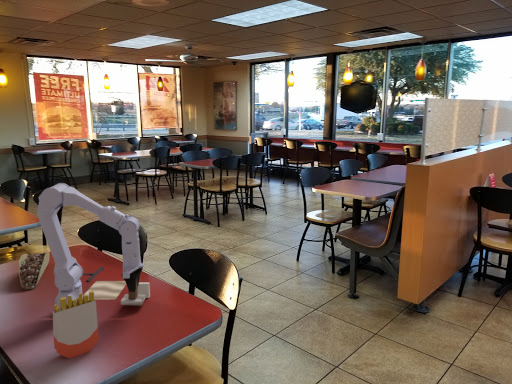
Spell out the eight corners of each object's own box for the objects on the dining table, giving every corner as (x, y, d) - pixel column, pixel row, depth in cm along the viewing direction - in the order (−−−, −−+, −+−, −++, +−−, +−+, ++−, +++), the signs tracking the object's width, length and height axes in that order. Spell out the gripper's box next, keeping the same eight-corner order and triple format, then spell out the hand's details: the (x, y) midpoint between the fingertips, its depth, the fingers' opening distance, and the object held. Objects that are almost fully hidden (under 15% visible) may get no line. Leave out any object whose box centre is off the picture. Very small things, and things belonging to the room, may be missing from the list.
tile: (149, 299, 145) (148, 284, 144) (130, 299, 145) (129, 284, 144) (150, 297, 147) (149, 282, 146) (131, 297, 147) (130, 282, 146)
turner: (141, 305, 136) (141, 283, 135) (120, 304, 136) (120, 283, 134) (145, 298, 141) (144, 277, 140) (125, 298, 141) (125, 277, 139)
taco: (54, 264, 179) (52, 242, 177) (42, 289, 154) (40, 264, 152) (30, 266, 176) (28, 245, 174) (14, 292, 151) (11, 267, 149)
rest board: (115, 300, 144) (115, 299, 144) (79, 300, 144) (79, 299, 144) (128, 282, 160) (128, 281, 160) (96, 282, 160) (96, 281, 159)
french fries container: (55, 355, 112) (48, 296, 108) (93, 340, 119) (89, 284, 115) (59, 362, 108) (53, 302, 105) (99, 347, 116) (94, 290, 112)
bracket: (70, 270, 173) (69, 264, 173) (104, 270, 173) (103, 264, 173) (53, 284, 159) (52, 277, 159) (90, 284, 159) (89, 278, 159)
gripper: (137, 260, 128) (139, 299, 131) (148, 245, 142) (150, 280, 145) (115, 260, 128) (117, 299, 130) (128, 245, 142) (130, 280, 145)
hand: (133, 289), depth 138 cm, fingers closed on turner, 2 cm apart
